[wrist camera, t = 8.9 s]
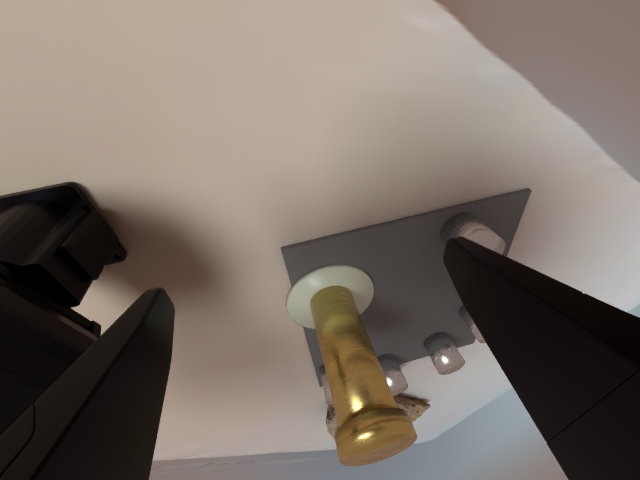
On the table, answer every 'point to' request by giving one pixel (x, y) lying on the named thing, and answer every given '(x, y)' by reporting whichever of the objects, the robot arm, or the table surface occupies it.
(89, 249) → the robot arm
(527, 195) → the mat
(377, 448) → the brass sleeve
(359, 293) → the pad
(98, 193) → the table surface
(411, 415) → the stone
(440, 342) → the spacers
